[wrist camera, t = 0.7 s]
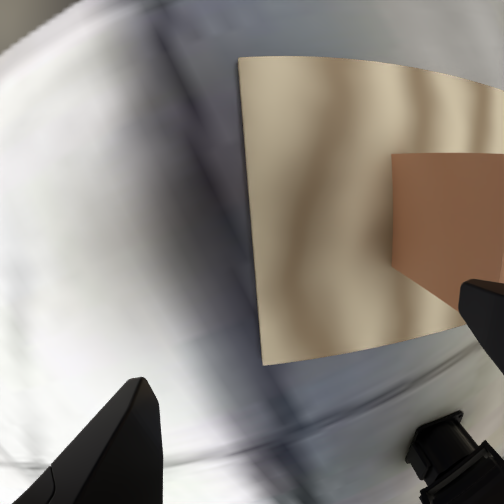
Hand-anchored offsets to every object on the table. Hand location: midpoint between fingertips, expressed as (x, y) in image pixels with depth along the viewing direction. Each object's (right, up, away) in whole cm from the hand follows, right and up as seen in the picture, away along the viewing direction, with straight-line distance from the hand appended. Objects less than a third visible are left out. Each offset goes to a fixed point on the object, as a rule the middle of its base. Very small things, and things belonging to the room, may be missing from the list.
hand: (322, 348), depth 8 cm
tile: (+8, +5, +12) cm, 15 cm away
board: (+9, +5, +13) cm, 17 cm away
